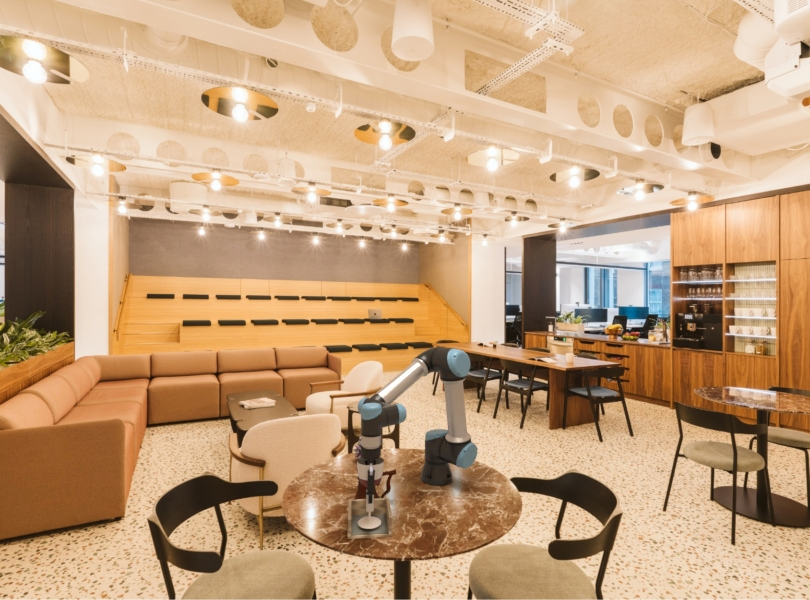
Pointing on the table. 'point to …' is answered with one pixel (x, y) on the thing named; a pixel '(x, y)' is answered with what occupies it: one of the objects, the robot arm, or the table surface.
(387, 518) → the square tray
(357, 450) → the flower
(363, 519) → the wineglass
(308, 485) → the table surface
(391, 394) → the robot arm
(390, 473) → the brown pitcher
